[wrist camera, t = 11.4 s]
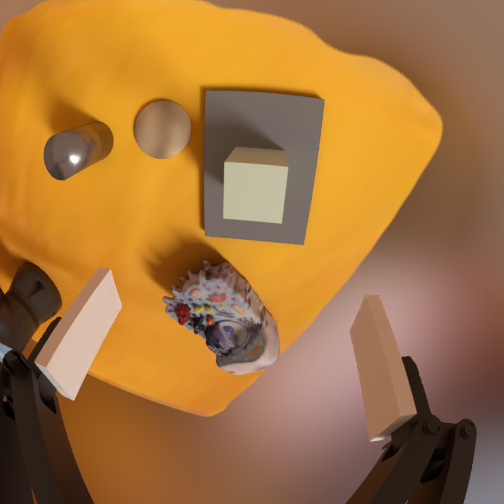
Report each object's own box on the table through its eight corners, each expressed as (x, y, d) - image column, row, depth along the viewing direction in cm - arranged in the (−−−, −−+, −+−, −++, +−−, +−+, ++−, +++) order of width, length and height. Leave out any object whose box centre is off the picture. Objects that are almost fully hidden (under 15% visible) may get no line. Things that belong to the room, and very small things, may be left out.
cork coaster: (139, 158, 34) (136, 160, 33) (136, 103, 30) (132, 104, 29) (193, 156, 34) (191, 157, 33) (191, 97, 30) (189, 97, 29)
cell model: (236, 388, 44) (142, 325, 37) (243, 343, 53) (166, 281, 46) (297, 365, 38) (196, 284, 32) (296, 315, 47) (215, 239, 41)
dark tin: (84, 161, 34) (47, 181, 27) (81, 124, 31) (41, 137, 23) (114, 159, 34) (78, 179, 27) (112, 119, 31) (72, 131, 23)
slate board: (206, 231, 40) (205, 236, 39) (207, 90, 29) (205, 90, 28) (302, 240, 39) (303, 245, 38) (322, 99, 28) (324, 99, 27)
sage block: (233, 191, 35) (223, 218, 28) (235, 146, 31) (224, 161, 25) (280, 195, 34) (281, 223, 28) (285, 150, 31) (288, 166, 24)
